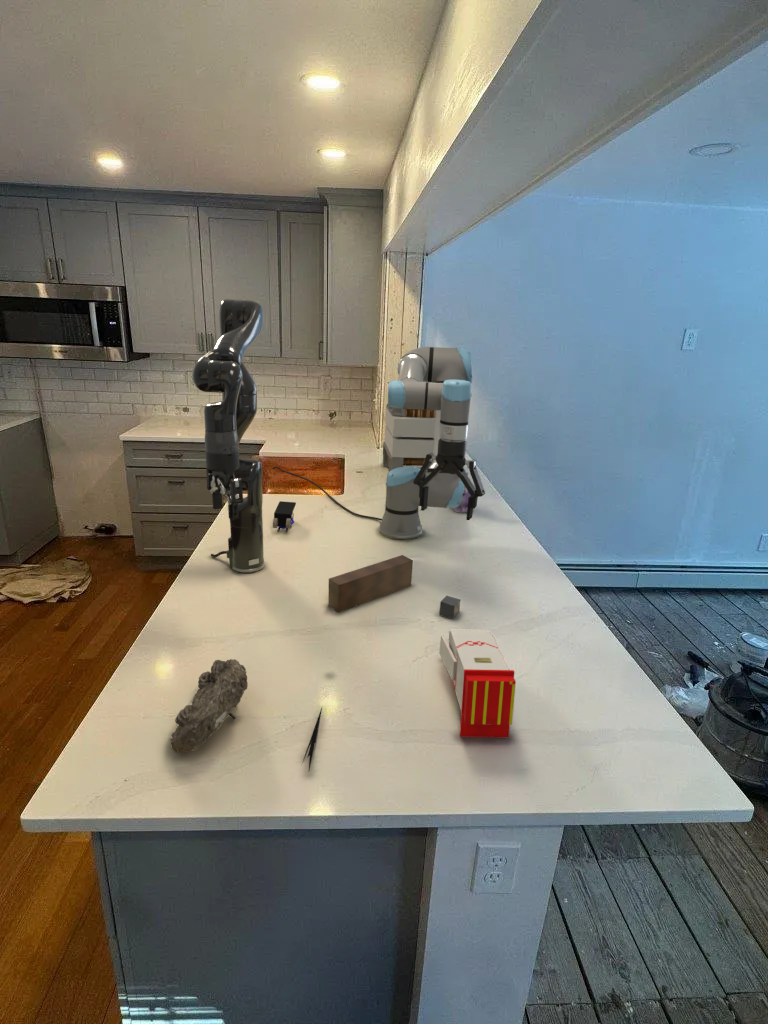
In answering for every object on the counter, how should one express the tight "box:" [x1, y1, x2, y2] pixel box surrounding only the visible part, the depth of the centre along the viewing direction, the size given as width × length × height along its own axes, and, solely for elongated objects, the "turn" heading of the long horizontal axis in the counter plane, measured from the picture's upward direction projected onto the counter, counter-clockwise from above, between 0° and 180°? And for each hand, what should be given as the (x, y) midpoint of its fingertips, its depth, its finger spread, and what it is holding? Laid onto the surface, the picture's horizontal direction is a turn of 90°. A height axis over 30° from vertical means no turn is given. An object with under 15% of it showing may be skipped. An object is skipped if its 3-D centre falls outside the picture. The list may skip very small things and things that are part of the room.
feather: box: [301, 673, 332, 771], centre depth 108 cm, size 2×28×2 cm
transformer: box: [381, 402, 436, 473], centre depth 268 cm, size 34×33×41 cm
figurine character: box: [272, 500, 297, 533], centre depth 200 cm, size 7×8×15 cm
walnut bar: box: [327, 554, 414, 613], centre depth 155 cm, size 26×4×8 cm, turn 131°
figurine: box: [451, 472, 471, 514], centre depth 225 cm, size 9×10×15 cm
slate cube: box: [439, 595, 461, 620], centre depth 148 cm, size 4×4×4 cm
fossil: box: [170, 658, 249, 753], centre depth 106 cm, size 22×10×15 cm
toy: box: [438, 628, 517, 738], centre depth 117 cm, size 12×13×30 cm
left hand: (225, 513), depth 138 cm, fingers open, 8 cm apart
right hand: (446, 514), depth 159 cm, fingers open, 13 cm apart
